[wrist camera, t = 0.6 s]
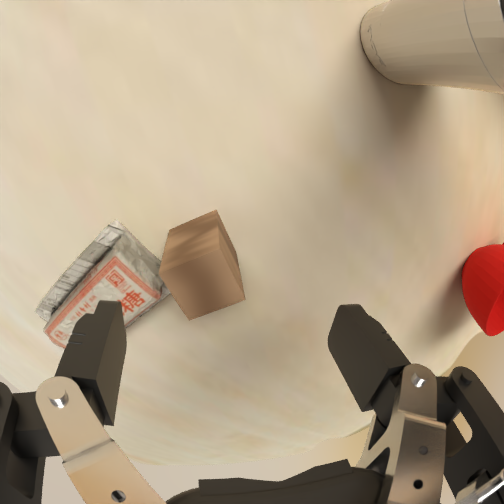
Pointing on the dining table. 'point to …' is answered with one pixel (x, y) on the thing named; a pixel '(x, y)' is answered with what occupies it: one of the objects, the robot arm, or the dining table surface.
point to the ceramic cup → (485, 287)
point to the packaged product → (103, 283)
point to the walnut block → (201, 266)
